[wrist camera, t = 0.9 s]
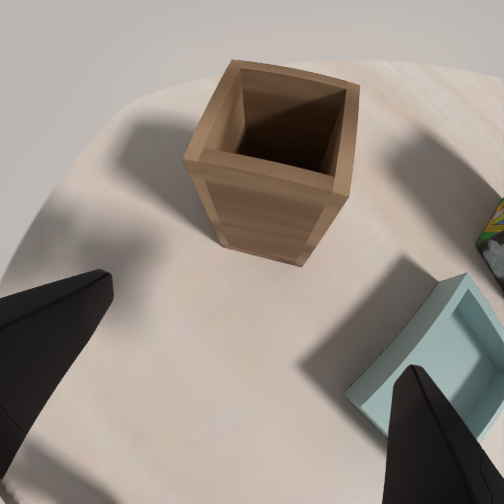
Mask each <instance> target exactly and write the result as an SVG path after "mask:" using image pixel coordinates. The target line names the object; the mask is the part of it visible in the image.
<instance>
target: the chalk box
mask: <svg viewBox="0 0 504 504" xmlns="http://www.w3.org/2000/svg"><path fill="white" fill-rule="evenodd" d="M476 247H477V248H478V250H479V251H480V253H481V254H482V256H483V257H484V259H485V260H486V262H487V264H488V265H489V267H490V268H491V270H492V272H493V273H494V275H495V277H496V278H497V280H498V282H499V283H500V285H501V287H502V289H503V291H504V198H503V199H502V201H501V202H500V204H499V206H498V208H497V209H496V211H495V213H494V215H493V216H492V218H491V220H490V222H489V223H488V225H487V226H486V228H485V230H484V232H483V233H482V235H481V236H480V238H479V239H478V241H477V243H476Z"/></svg>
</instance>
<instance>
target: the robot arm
mask: <svg viewBox="0 0 504 504" xmlns="http://www.w3.org/2000/svg"><path fill="white" fill-rule="evenodd" d="M113 298H114V291H113V279H112V275H111V273H109V272H107V271H105V270H102V269H97V270H93V271H90V272H86V273H83V274H79V275H76V276H73V277H69V278H66V279H62V280H59V281H55V282H52V283H49V284H45V285H42V286H39V287H35V288H32V289H29V290H25V291H22V292H19V293H16V294H12V295H9V296H6V297H3V298H0V479H3V477H4V476H5V474H6V472H7V470H8V468H9V466H10V464H11V462H12V460H13V459H14V457H15V455H16V453H17V451H18V450H19V448H20V446H21V444H22V443H23V441H24V439H25V437H26V435H27V434H28V432H29V430H30V429H31V427H32V425H33V424H34V422H35V420H36V419H37V417H38V415H39V414H40V412H41V411H42V409H43V407H44V406H45V404H46V403H47V401H48V399H49V398H50V396H51V395H52V393H53V392H54V390H55V389H56V387H57V386H58V384H59V383H60V381H61V380H62V378H63V377H64V375H65V374H66V372H67V371H68V370H69V368H70V367H71V365H72V364H73V362H74V361H75V359H76V358H77V357H78V355H79V354H80V352H81V351H82V350H83V348H84V347H85V345H86V344H87V343H88V341H89V340H90V338H91V337H92V335H93V333H94V332H95V330H96V328H97V326H98V325H99V323H100V321H101V320H102V318H103V316H104V315H105V313H106V311H107V310H108V308H109V306H110V305H111V303H112V301H113ZM382 504H504V478H503V477H502V476H501V474H500V473H499V471H498V470H497V469H496V467H495V466H494V464H493V463H492V462H491V460H490V459H489V457H488V456H487V454H486V453H485V451H484V450H483V449H482V447H481V445H480V444H479V442H478V441H477V439H476V438H475V437H474V435H473V434H472V432H471V431H470V429H469V428H468V427H467V425H466V424H465V422H464V421H463V420H462V418H461V417H460V416H459V414H458V413H457V411H456V410H455V409H454V407H453V406H452V405H451V403H450V402H449V401H448V399H447V398H446V397H445V395H444V394H443V393H442V391H441V390H440V389H439V387H438V386H437V385H436V384H435V382H434V381H433V380H432V378H431V377H430V376H429V375H428V373H427V372H426V371H425V369H424V368H423V367H422V366H419V365H414V364H410V365H408V366H407V367H406V369H405V370H404V371H403V372H402V374H401V375H400V376H399V377H398V379H397V380H396V381H395V383H394V385H393V392H392V402H391V411H390V419H389V427H388V441H387V459H386V472H385V482H384V491H383V499H382Z"/></svg>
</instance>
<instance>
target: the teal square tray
mask: <svg viewBox="0 0 504 504" xmlns="http://www.w3.org/2000/svg"><path fill="white" fill-rule="evenodd" d="M410 364H414V365H419V366H422V367H423V368H424V369H425V371H426V372H427V373H428V375H429V376H430V377H431V378H432V380H433V381H434V382H435V384H436V385H437V386H438V387H439V389H440V390H441V391H442V393H443V394H444V395H445V397H446V398H447V399H448V401H449V402H450V403H451V405H452V406H453V407H454V409H455V410H456V411H457V413H458V414H459V416H460V417H461V418H462V420H463V421H464V422H465V424H466V425H467V427H468V428H469V429H470V431H471V432H472V434H473V435H474V437H475V438H476V439H477V441H478V442H479V443H480V442H481V441H482V440H483V438H484V437H485V436H486V434H487V433H488V431H489V430H490V429H491V427H492V426H493V424H494V423H495V421H496V420H497V418H498V417H499V415H500V414H501V412H502V411H503V409H504V327H503V326H502V324H501V322H500V321H499V319H498V317H497V316H496V314H495V313H494V311H493V309H492V308H491V306H490V305H489V303H488V302H487V300H486V299H485V297H484V296H483V294H482V293H481V291H480V290H479V288H478V287H477V286H476V284H475V283H474V281H473V280H472V278H471V277H470V276H469V274H468V273H464V274H461V275H458V276H455V277H452V278H449V279H446V280H443V281H440V282H439V283H438V284H437V285H436V287H435V288H434V290H433V291H432V292H431V294H430V295H429V297H428V298H427V299H426V301H425V302H424V303H423V305H422V306H421V307H420V309H419V310H418V311H417V312H416V314H415V315H414V316H413V318H412V319H411V320H410V321H409V323H408V324H407V325H406V326H405V327H404V329H403V330H402V331H401V332H400V333H399V335H398V336H397V337H396V338H395V339H394V341H393V342H392V343H391V344H390V345H389V346H388V347H387V349H386V350H385V351H384V352H383V353H382V354H381V355H380V356H379V357H378V358H377V360H376V361H375V362H374V363H373V364H372V365H371V366H370V367H369V368H368V369H367V370H366V371H365V372H364V373H363V374H362V375H361V376H360V377H359V378H358V379H357V380H356V381H355V382H354V383H353V384H352V385H351V386H350V387H349V388H348V389H347V390H346V391H345V392H344V393H343V394H344V395H345V396H346V397H347V398H348V399H349V400H350V401H351V402H352V403H353V404H354V405H355V406H356V407H357V408H358V409H359V410H360V411H361V412H362V413H363V414H364V415H365V416H366V417H367V418H368V419H369V420H370V421H371V422H372V423H373V424H374V425H375V426H376V427H377V428H378V429H379V430H380V431H381V432H382V433H383V434H384V435H385V436H386V437H387V438H388V427H389V419H390V411H391V402H392V392H393V385H394V383H395V381H396V380H397V379H398V377H399V376H400V375H401V374H402V372H403V371H404V370H405V369H406V367H407V366H408V365H410Z"/></svg>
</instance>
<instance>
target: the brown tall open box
mask: <svg viewBox="0 0 504 504" xmlns="http://www.w3.org/2000/svg"><path fill="white" fill-rule="evenodd" d="M359 94H360V85H358V84H355V83H351V82H348V81H344V80H340V79H337V78H333V77H329V76H325V75H321V74H317V73H312V72H308V71H303V70H298V69H293V68H288V67H282V66H277V65H270V64H263V63H257V62H249V61H240V60H231V62H230V64H229V66H228V67H227V69H226V71H225V73H224V75H223V76H222V78H221V80H220V82H219V84H218V86H217V88H216V90H215V92H214V93H213V95H212V97H211V99H210V101H209V103H208V105H207V107H206V109H205V111H204V113H203V115H202V117H201V120H200V122H199V124H198V126H197V128H196V130H195V132H194V134H193V136H192V139H191V141H190V143H189V145H188V147H187V150H186V152H185V154H184V156H183V161H184V164H185V166H186V168H187V170H188V173H189V175H190V177H191V179H192V182H193V184H194V186H195V188H196V190H197V193H198V195H199V197H200V199H201V201H202V204H203V206H204V208H205V210H206V212H207V215H208V217H209V219H210V221H211V223H212V225H213V228H214V230H215V232H216V234H217V236H218V238H219V241H220V243H221V245H222V247H224V248H228V249H232V250H236V251H240V252H244V253H248V254H252V255H255V256H259V257H263V258H267V259H271V260H275V261H279V262H283V263H287V264H291V265H295V266H299V267H302V266H303V265H304V264H305V262H306V261H307V259H308V258H309V256H310V255H311V253H312V252H313V250H314V249H315V247H316V246H317V245H318V243H319V242H320V240H321V239H322V237H323V236H324V234H325V233H326V231H327V230H328V228H329V227H330V225H331V224H332V222H333V221H334V219H335V218H336V216H337V215H338V213H339V211H340V210H341V208H342V207H343V205H344V204H345V202H346V201H347V199H348V198H349V194H350V186H351V179H352V171H353V163H354V154H355V144H356V134H357V122H358V109H359Z"/></svg>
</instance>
